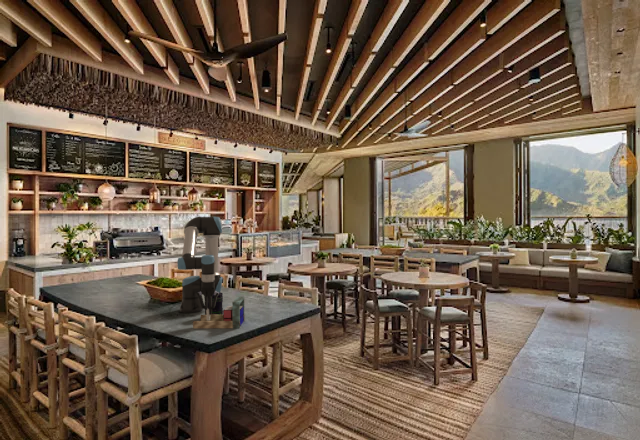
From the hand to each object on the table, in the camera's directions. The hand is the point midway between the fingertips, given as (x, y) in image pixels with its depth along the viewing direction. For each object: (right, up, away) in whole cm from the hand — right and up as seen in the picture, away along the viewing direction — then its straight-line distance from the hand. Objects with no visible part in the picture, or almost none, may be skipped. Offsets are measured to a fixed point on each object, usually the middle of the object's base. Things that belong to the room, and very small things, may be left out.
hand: (208, 320), depth 229 cm
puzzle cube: (+15, -3, 0) cm, 15 cm away
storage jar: (-1, -3, +17) cm, 17 cm away
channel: (+7, -3, 0) cm, 7 cm away
